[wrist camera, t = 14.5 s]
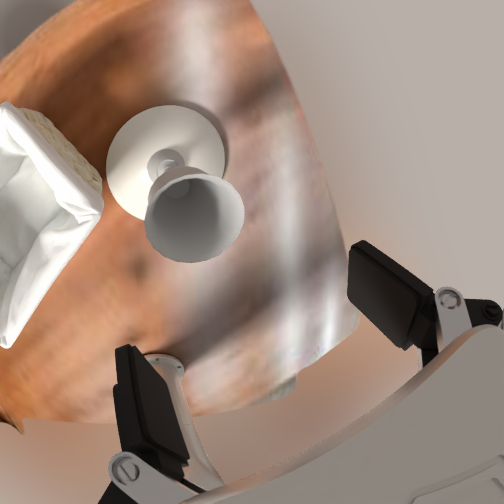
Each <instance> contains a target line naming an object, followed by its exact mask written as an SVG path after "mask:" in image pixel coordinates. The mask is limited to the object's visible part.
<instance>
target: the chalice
mask: <svg viewBox="0 0 504 504" xmlns="http://www.w3.org/2000/svg"><path fill="white" fill-rule="evenodd" d="M147 174H148V176H149V178H150V179H151V181H152V182H153V185H152V186H151V188H150V191H149V195H148V206H147V211H146V215H145V220H144V224H145V230H146V236H147V238H148V239H149V241H150V243H151V245H152V246H153V248H154V249H155V250H157V251H158V252H159V253H160V254H162V255H163V256H164V257H166V258H169V259H171V260H174V261H177V262H186V263H195V262H201V261H206V260H208V259H211V258H213V257H215V256H218V255H220V254H221V253H222V252H223V251H225V250H226V249H227V248H229V247H230V246H231V245H232V243H233V242H234V241H235V239H236V238H237V237H238V236H239V234H240V231H241V228H242V226H243V223H244V206H243V203H242V200H241V197H240V195H239V194H238V192H237V191H236V190H235V189H234V188H233V186H232V185H231V184H229V183H228V182H226V181H224V180H222V179H221V178H219V177H216V176H211V175H209V174H208V173H206V172H204V171H202V170H201V169H199V168H195V167H190V166H185V162H184V159H183V157H182V156H181V155H180V153H178V152H177V151H175V150H172V149H162V150H159V151H157V152H156V153H154V154H153V155H152V156H151V158H150V159H149V161H148V164H147Z"/></svg>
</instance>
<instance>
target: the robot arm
mask: <svg viewBox="0 0 504 504" xmlns="http://www.w3.org/2000/svg"><path fill="white" fill-rule="evenodd" d="M347 296H348V299H349V300H350V302H351V303H352V304H353V305H355V306H356V307H357V308H358V309H359V310H360V311H361V312H362V313H363V314H364V315H365V316H366V317H367V318H368V319H369V320H370V321H371V322H372V323H373V324H374V325H375V326H376V327H377V328H378V329H379V330H380V331H381V332H383V334H384V335H385V336H387V338H388V339H390V340H391V341H392V342H393V343H394V344H395V345H396V346H397V347H399V348H402V349H403V350H404V351H405V350H407V349H408V348H409V347H410V346H412V345H413V344H414V345H415V346H417V355H418V369H419V372H418V373H417V374H416V375H415V376H414V377H413V378H411V379H410V380H409V381H408V382H407V383H405V384H404V385H403V386H402V387H401V388H399V389H398V390H397V391H396V392H394V393H393V394H392V395H391V396H389V397H388V398H387V399H385V400H384V401H383V402H381V403H380V404H379V405H377V406H376V407H375V408H373V409H372V410H370V411H369V412H368V413H366V414H365V415H363V416H362V417H361V418H359V419H357V420H356V421H354V422H353V423H351V424H350V425H348V426H347V427H345V428H343V429H342V430H340V431H339V432H337V433H335V434H334V435H332V436H330V437H329V438H327V439H325V440H323V441H322V442H320V443H318V444H316V445H314V446H313V447H311V448H309V449H307V450H305V451H303V452H301V453H299V454H298V455H295V456H293V457H291V458H289V459H287V460H285V461H283V462H281V463H279V464H277V465H274V466H272V467H270V468H268V469H265V470H263V471H261V472H258V473H255V474H253V475H251V476H248V477H246V478H243V479H240V480H238V481H235V482H233V483H230V484H227V485H225V484H224V481H223V479H222V478H221V476H220V475H219V473H218V471H217V470H216V469H215V467H214V465H213V464H212V462H211V461H210V459H209V457H208V456H207V453H206V451H205V449H204V447H203V445H202V442H201V440H200V438H199V435H198V432H197V430H196V427H195V424H194V421H193V419H192V415H191V413H190V410H189V407H188V404H187V401H186V397H185V394H184V391H183V388H182V385H181V382H180V381H181V380H182V378H183V376H184V373H185V372H184V367H183V364H182V363H181V361H179V360H178V359H177V358H175V357H173V356H170V355H166V354H149V355H145V356H143V354H142V353H141V352H140V351H139V350H138V348H137V347H136V346H131V345H130V344H127V345H124V346H121V347H119V348H116V349H115V359H116V372H117V382H118V384H116V385H114V387H113V396H114V405H115V412H116V419H117V425H118V431H119V437H120V443H121V448H122V452H120V453H118V454H116V455H115V456H113V457H112V458H111V460H110V462H109V467H108V471H109V475H110V478H111V480H112V481H111V483H110V484H109V486H108V488H107V489H106V491H105V493H104V494H103V496H102V498H101V499H100V501H99V503H98V504H504V309H503V311H502V309H501V308H500V306H499V305H498V304H497V303H496V302H494V301H492V300H482V299H481V300H480V299H464V298H463V296H462V295H461V293H460V292H459V291H457V290H456V289H454V288H451V287H442V288H440V289H438V290H437V291H436V294H434V293H433V289H432V288H430V287H429V286H428V285H427V284H425V283H424V282H422V281H421V280H420V279H419V278H417V277H416V276H415V275H413V274H412V273H410V272H409V271H408V270H407V269H405V268H404V267H402V266H401V265H400V264H398V263H397V262H395V261H394V260H393V259H391V258H390V257H388V256H387V255H386V254H384V253H383V252H381V251H380V250H378V249H377V248H375V247H374V246H372V245H371V244H370V243H368V242H367V241H365V240H361V241H359V242H358V243H356V244H353V245H352V246H351V250H350V251H349V266H348V288H347Z"/></svg>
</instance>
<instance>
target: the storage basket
mask: <svg viewBox="0 0 504 504" xmlns="http://www.w3.org/2000/svg"><path fill="white" fill-rule="evenodd" d="M103 209H104V200H103V198H102V178H101V176H100V174H99V172H98V171H97V170H96V169H95V168H94V167H93V166H92V165H91V164H89V163H88V161H87V160H86V159H85V158H84V157H83V156H82V155H81V154H80V153H79V152H78V151H77V149H76V148H75V147H74V146H73V145H72V144H71V143H70V142H69V141H68V140H67V139H66V138H65V137H64V135H63V134H62V133H61V132H60V131H59V130H58V129H56V128H55V126H54V124H53V123H52V122H51V121H50V120H49V119H48V118H46V117H45V116H44V115H43V114H42V113H41V112H38V111H33V110H31V109H29V110H28V109H27V108H15V107H14V106H13V105H12V104H11V102H3V103H2V104H0V346H2V347H4V348H10V347H11V346H12V344H13V343H14V342H15V340H16V339H17V337H18V336H19V334H20V332H21V331H22V329H23V328H24V326H25V324H26V323H27V321H28V320H29V318H30V317H31V315H32V313H33V312H34V310H35V309H36V307H37V306H38V304H39V303H40V301H41V300H42V298H43V297H44V295H45V294H46V292H47V291H48V289H49V288H50V286H51V285H52V284H53V282H54V281H55V279H56V278H57V277H58V275H59V274H60V272H61V271H62V270H63V268H64V267H65V266H66V264H67V263H68V262H69V260H70V259H71V258H72V256H73V255H74V254H75V253H76V251H77V250H78V249H79V247H80V246H81V244H82V243H83V242H84V240H85V239H86V238H87V236H88V235H89V234H90V232H91V231H92V229H93V228H94V227H95V225H96V224H97V223H98V221H99V220H100V218H101V215H102V211H103Z"/></svg>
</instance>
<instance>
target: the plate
mask: <svg viewBox="0 0 504 504" xmlns="http://www.w3.org/2000/svg"><path fill="white" fill-rule="evenodd" d="M162 149H172V150H175V151H177V152H178V153H180V155H181V156H182V157H183V159H184V162H185V166H190V167H195V168H199V169H201V170H202V171H204V172H206V173H208V174H209V175H211V176H216V177H219V178H221V179H222V176H223V172H224V166H225V153H224V147H223V144H222V140H221V138H220V136H219V134H218V132H217V130H216V129H215V127H214V126H213V125H212V124H211V123H210V121H209V120H207V119H206V118H205V117H204V116H202V115H201V114H199V113H198V112H196V111H194V110H191V109H189V108H186V107H182V106H175V105H164V106H157V107H153V108H150V109H147V110H145V111H142V112H140V113H139V114H137V115H135V116H134V117H132V118H131V119H130V120H129V121H127V122H126V123H125V124H124V125H123V126H122V127H121V129H120V130H119V131H118V133H117V134H116V136H115V137H114V139H113V141H112V143H111V146H110V148H109V151H108V155H107V161H106V176H107V181H108V185H109V188H110V190H111V192H112V194H113V196H114V198H115V199H116V201H117V202H118V203H119V204H120V205H121V207H122V208H124V209H125V210H126V211H127V212H129V213H130V214H132V215H133V216H135V217H137V218H140V219H142V220H145V215H146V211H147V206H148V195H149V191H150V188H151V186H152V185H153V182H152V181H151V179H150V178H149V176H148V174H147V164H148V161H149V159H150V158H151V156H152V155H153V154H154V153H156V152H157V151H159V150H162Z"/></svg>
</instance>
